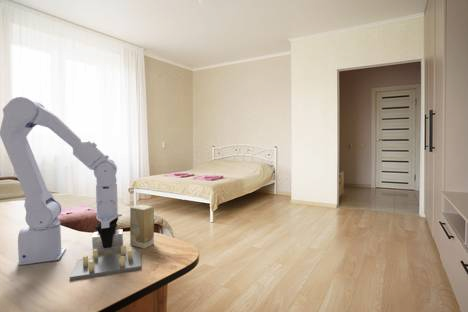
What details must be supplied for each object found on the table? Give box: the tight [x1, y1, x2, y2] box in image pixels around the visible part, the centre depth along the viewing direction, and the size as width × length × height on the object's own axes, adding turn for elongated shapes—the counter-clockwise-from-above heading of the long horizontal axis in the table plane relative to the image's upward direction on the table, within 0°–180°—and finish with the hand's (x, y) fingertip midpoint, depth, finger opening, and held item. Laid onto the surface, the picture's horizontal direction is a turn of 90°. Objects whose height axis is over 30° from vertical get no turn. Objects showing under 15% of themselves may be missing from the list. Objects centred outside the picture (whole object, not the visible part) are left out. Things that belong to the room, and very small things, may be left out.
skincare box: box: [129, 203, 155, 249], centre depth 85 cm, size 6×4×12 cm
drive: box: [91, 228, 124, 254], centre depth 82 cm, size 8×4×5 cm, turn 110°
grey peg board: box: [69, 245, 142, 281], centre depth 71 cm, size 16×10×3 cm, turn 110°
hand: (108, 244), depth 82 cm, fingers closed on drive, 4 cm apart
